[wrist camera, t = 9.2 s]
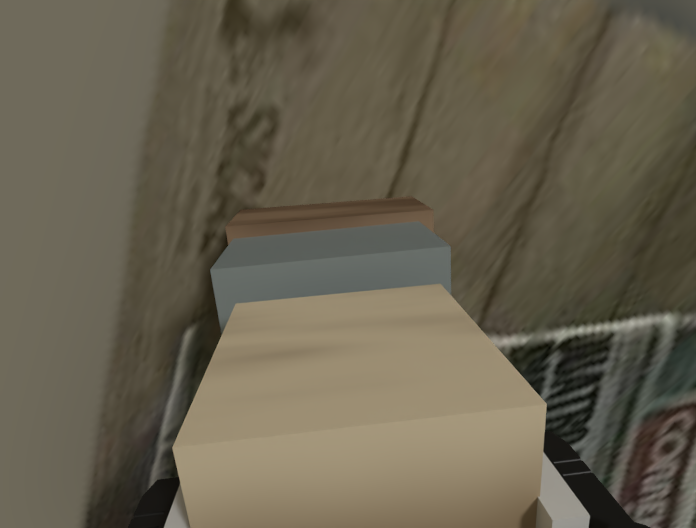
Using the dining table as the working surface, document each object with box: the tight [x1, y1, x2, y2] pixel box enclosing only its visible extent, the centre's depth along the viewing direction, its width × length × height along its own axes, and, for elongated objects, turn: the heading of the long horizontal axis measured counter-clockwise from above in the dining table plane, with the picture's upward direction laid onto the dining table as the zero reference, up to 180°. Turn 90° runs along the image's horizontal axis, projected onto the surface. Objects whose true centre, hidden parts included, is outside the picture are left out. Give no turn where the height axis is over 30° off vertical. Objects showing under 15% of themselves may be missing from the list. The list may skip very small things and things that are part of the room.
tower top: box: [210, 221, 451, 334], centre depth 20 cm, size 9×9×5 cm
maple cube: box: [172, 284, 547, 528], centre depth 12 cm, size 7×7×7 cm
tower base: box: [225, 196, 434, 245], centre depth 25 cm, size 10×10×5 cm
